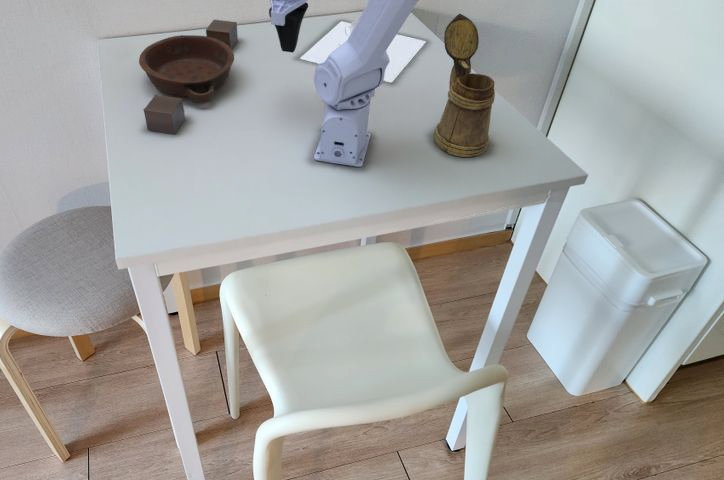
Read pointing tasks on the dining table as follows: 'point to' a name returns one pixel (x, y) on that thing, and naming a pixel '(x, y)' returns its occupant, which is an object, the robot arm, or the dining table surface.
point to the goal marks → (170, 110)
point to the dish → (188, 65)
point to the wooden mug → (465, 95)
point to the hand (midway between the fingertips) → (288, 50)
